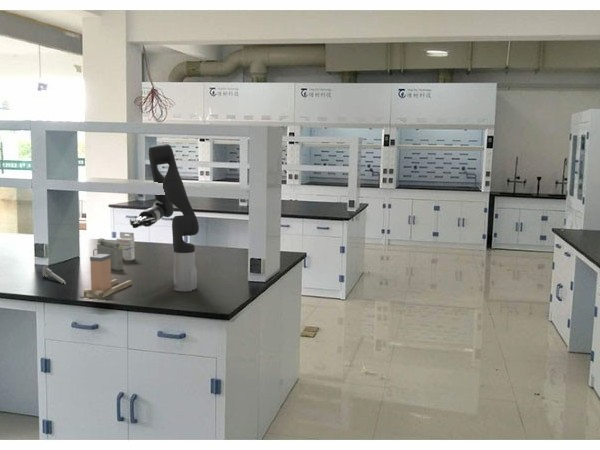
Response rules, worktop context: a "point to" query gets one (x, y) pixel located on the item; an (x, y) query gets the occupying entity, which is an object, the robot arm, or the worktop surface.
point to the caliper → (51, 274)
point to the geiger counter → (111, 252)
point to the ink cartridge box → (127, 245)
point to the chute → (102, 293)
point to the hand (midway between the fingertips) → (134, 225)
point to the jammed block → (100, 272)
